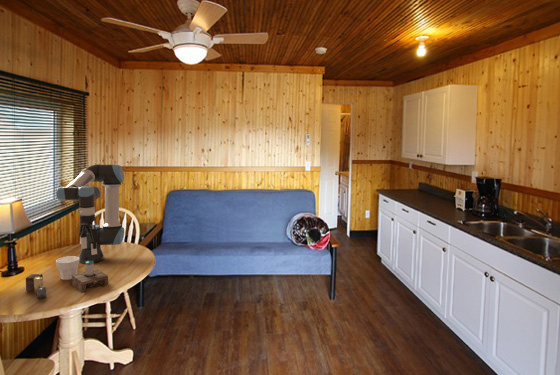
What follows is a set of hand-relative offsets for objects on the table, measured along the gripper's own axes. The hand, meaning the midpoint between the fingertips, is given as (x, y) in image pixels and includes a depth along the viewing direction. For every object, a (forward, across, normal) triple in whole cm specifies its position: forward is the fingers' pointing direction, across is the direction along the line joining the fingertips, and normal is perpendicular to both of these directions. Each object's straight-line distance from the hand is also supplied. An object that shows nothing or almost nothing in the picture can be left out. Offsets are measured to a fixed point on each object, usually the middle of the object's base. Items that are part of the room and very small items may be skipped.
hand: (89, 251), depth 213 cm
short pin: (+20, 0, -24) cm, 31 cm away
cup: (+20, -20, -4) cm, 29 cm away
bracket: (+20, +1, 0) cm, 20 cm away
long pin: (+20, +1, 0) cm, 20 cm away
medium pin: (+20, -8, -24) cm, 32 cm away
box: (+20, -15, -24) cm, 35 cm away
